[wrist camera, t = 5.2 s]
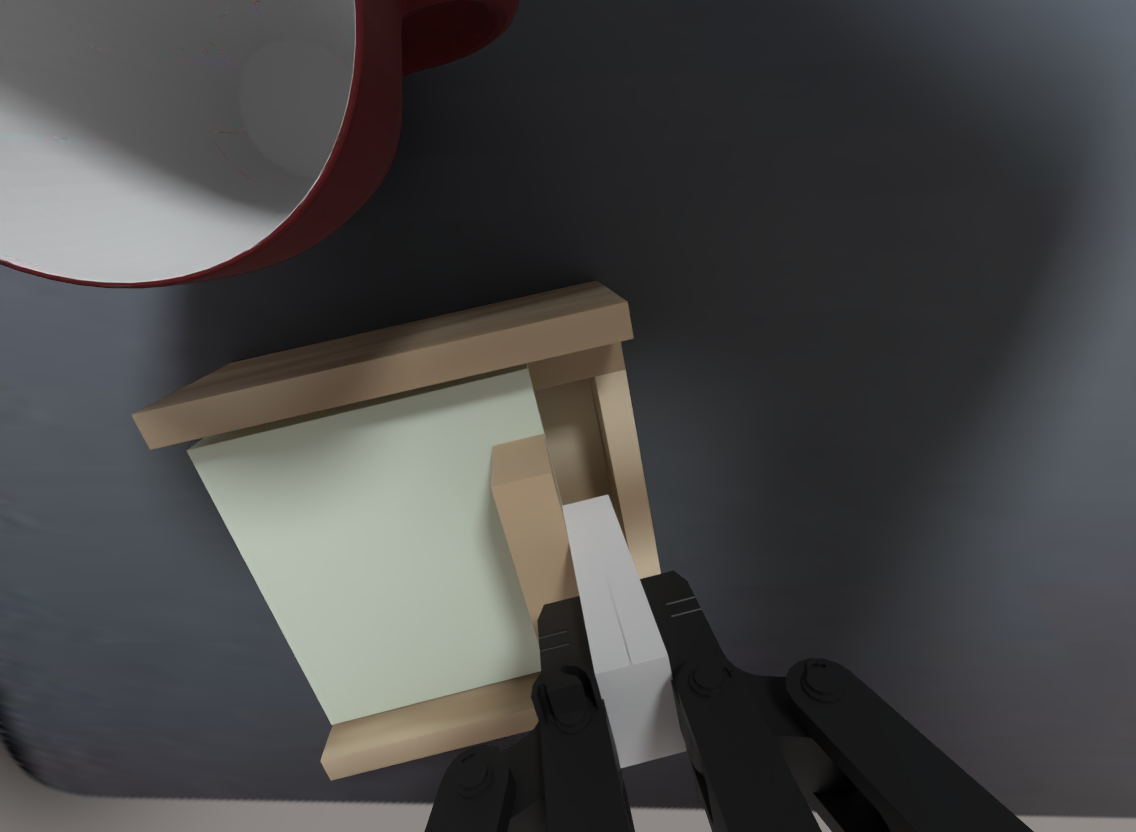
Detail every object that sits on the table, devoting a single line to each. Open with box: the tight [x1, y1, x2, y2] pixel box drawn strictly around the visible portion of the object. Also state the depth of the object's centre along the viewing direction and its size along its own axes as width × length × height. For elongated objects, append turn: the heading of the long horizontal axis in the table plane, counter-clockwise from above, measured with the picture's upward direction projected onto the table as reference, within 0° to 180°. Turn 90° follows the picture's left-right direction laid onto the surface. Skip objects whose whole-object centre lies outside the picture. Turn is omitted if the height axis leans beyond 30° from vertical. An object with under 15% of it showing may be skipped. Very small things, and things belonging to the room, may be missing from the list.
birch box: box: [132, 280, 661, 780], centre depth 19 cm, size 14×13×5 cm
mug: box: [0, 0, 519, 288], centre depth 11 cm, size 10×8×10 cm
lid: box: [186, 363, 579, 725], centre depth 17 cm, size 11×10×4 cm
